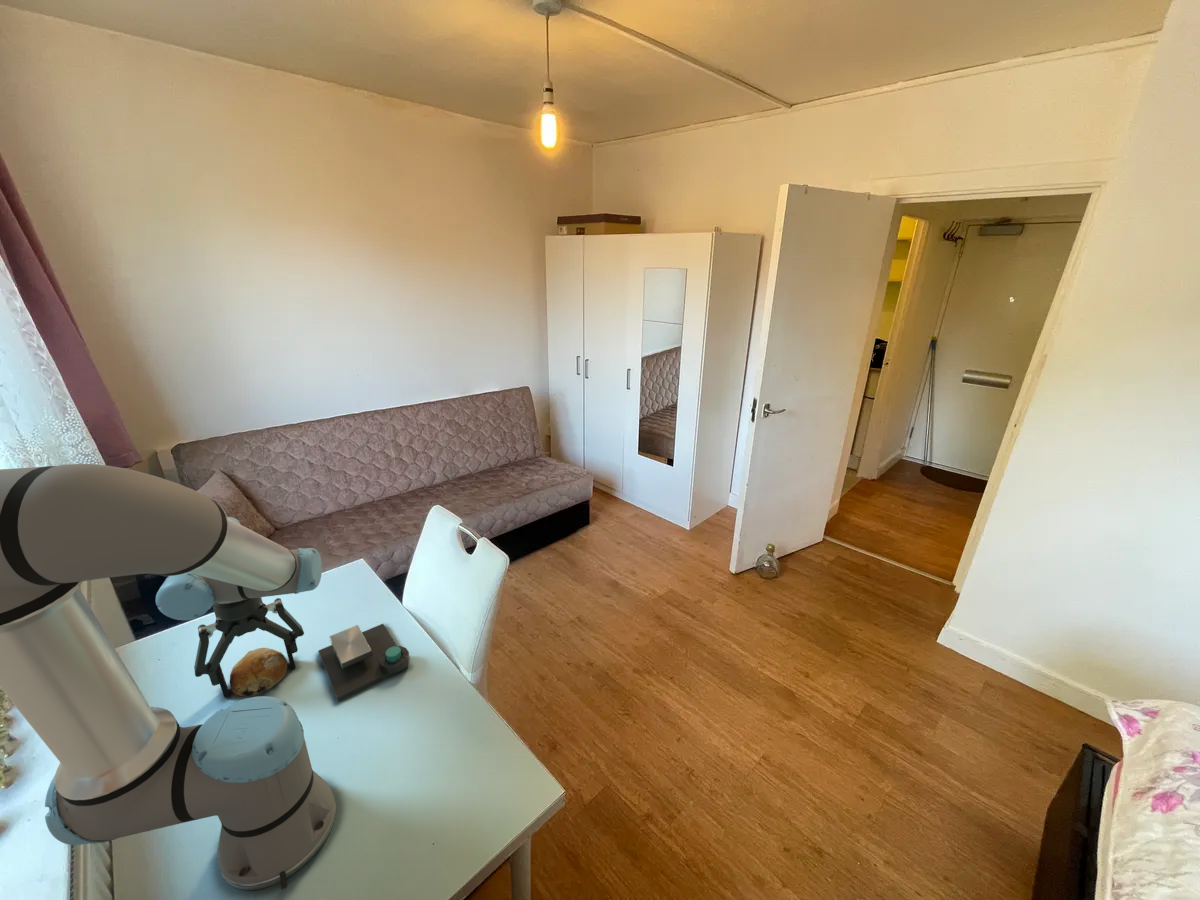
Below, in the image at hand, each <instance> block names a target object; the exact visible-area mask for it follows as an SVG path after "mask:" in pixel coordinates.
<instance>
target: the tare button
mask: <svg viewBox="0 0 1200 900" xmlns="http://www.w3.org/2000/svg"><path fill="white" fill-rule="evenodd" d="M397 646H398V645H396V646H394V647H391V648H389V649H388V650H387V651H386V659H387V661H388V662H389V663H394V662H397V661H398V660H400V658H401V649H400V648H399V647H397Z"/></svg>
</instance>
